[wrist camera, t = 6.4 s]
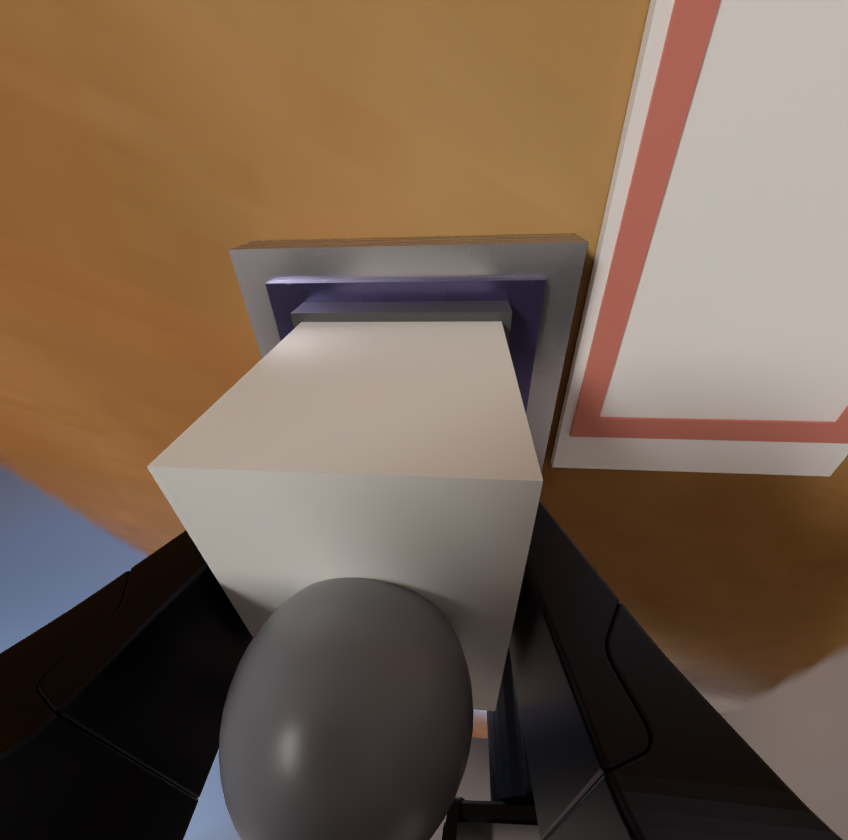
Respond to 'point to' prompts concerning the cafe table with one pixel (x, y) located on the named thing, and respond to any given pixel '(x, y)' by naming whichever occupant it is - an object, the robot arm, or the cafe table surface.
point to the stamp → (362, 560)
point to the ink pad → (431, 292)
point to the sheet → (722, 251)
